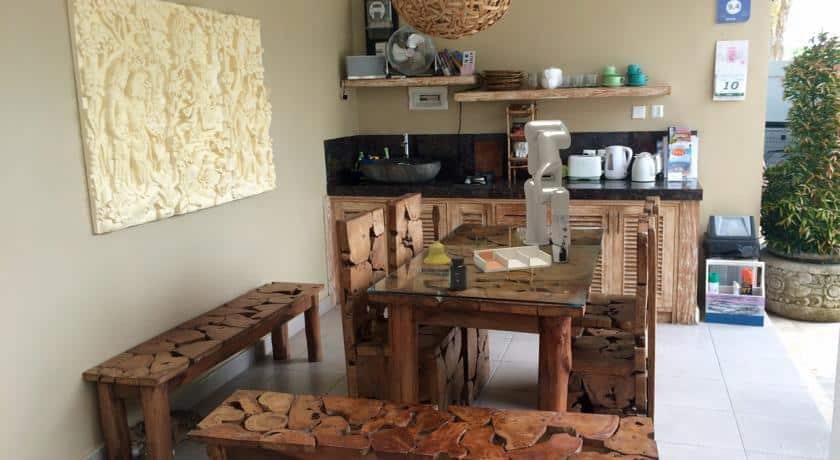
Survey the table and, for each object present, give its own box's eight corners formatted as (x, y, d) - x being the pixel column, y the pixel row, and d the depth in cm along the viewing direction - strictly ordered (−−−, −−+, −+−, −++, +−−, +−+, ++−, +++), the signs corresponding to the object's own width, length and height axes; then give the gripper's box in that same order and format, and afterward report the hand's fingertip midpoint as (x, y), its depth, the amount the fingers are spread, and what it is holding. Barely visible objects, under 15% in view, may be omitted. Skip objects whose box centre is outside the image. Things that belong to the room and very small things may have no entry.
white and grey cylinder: (550, 262, 306) (550, 246, 305) (553, 258, 312) (553, 243, 311) (566, 263, 304) (566, 247, 302) (569, 259, 310) (569, 243, 309)
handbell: (430, 265, 308) (429, 208, 303) (418, 260, 319) (416, 204, 314) (456, 262, 313) (454, 205, 308) (443, 256, 324) (441, 202, 319)
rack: (537, 258, 313) (537, 245, 312) (551, 266, 299) (551, 252, 298) (474, 264, 307) (473, 250, 306) (484, 272, 293) (484, 258, 292)
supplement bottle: (447, 290, 269) (446, 259, 267) (452, 285, 275) (452, 255, 273) (464, 291, 266) (463, 260, 264) (469, 286, 273) (469, 256, 270)
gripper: (577, 221, 297) (576, 263, 301) (560, 214, 314) (560, 254, 317) (560, 222, 296) (560, 265, 299) (544, 215, 312) (544, 256, 315)
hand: (560, 259), depth 308 cm, fingers closed on white and grey cylinder, 5 cm apart
